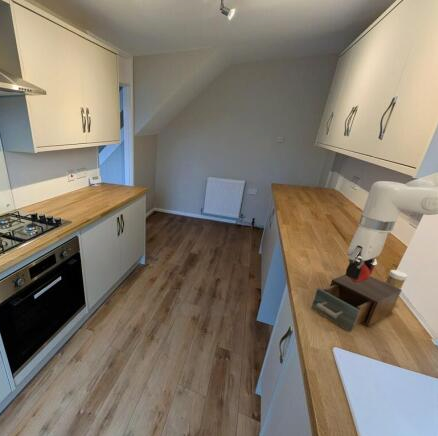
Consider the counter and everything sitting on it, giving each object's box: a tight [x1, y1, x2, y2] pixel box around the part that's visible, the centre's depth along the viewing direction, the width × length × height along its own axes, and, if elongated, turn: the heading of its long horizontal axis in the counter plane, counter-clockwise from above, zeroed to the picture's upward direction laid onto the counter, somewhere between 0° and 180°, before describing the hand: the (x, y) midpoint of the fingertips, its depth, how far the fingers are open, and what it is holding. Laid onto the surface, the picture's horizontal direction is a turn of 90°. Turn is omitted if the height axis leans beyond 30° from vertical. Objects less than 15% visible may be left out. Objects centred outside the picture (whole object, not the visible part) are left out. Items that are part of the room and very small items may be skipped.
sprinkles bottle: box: [385, 269, 408, 290], centre depth 90 cm, size 5×5×14 cm
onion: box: [345, 262, 371, 283], centre depth 76 cm, size 6×6×8 cm
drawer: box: [311, 284, 374, 333], centre depth 82 cm, size 19×13×8 cm, turn 115°
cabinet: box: [329, 273, 402, 328], centre depth 87 cm, size 16×14×10 cm
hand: (357, 274), depth 77 cm, fingers closed on onion, 5 cm apart
